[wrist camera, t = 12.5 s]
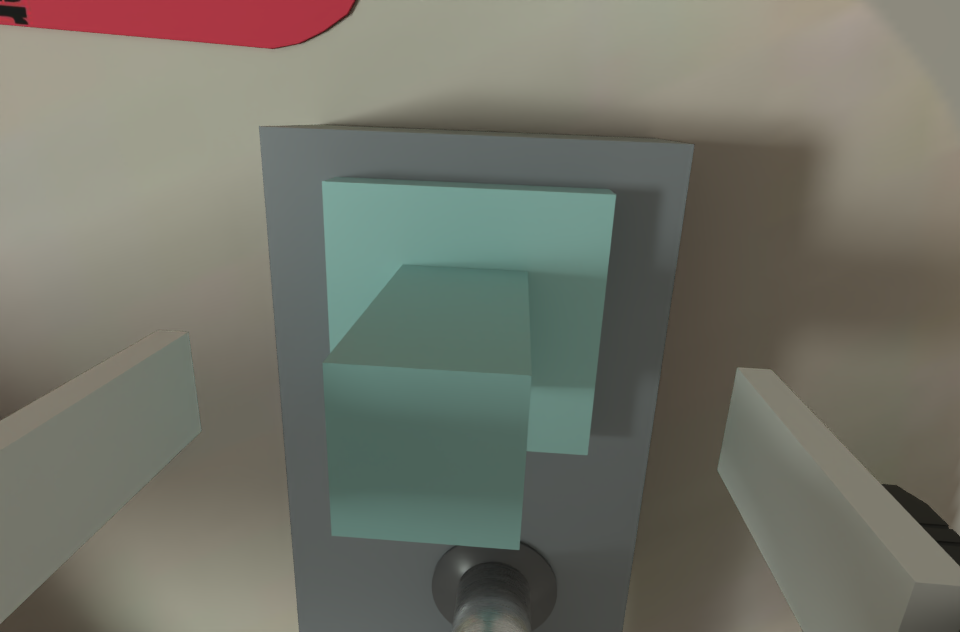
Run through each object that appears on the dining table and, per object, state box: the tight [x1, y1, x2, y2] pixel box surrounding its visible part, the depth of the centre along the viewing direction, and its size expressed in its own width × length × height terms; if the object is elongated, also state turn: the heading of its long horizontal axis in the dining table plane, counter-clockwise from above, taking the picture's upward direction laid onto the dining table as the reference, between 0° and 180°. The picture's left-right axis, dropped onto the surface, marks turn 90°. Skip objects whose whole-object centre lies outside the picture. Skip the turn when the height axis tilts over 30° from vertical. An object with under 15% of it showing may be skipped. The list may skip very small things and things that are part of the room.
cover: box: [322, 177, 616, 550], centre depth 16 cm, size 9×9×10 cm
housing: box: [259, 125, 694, 632], centre depth 25 cm, size 14×22×6 cm, turn 178°
